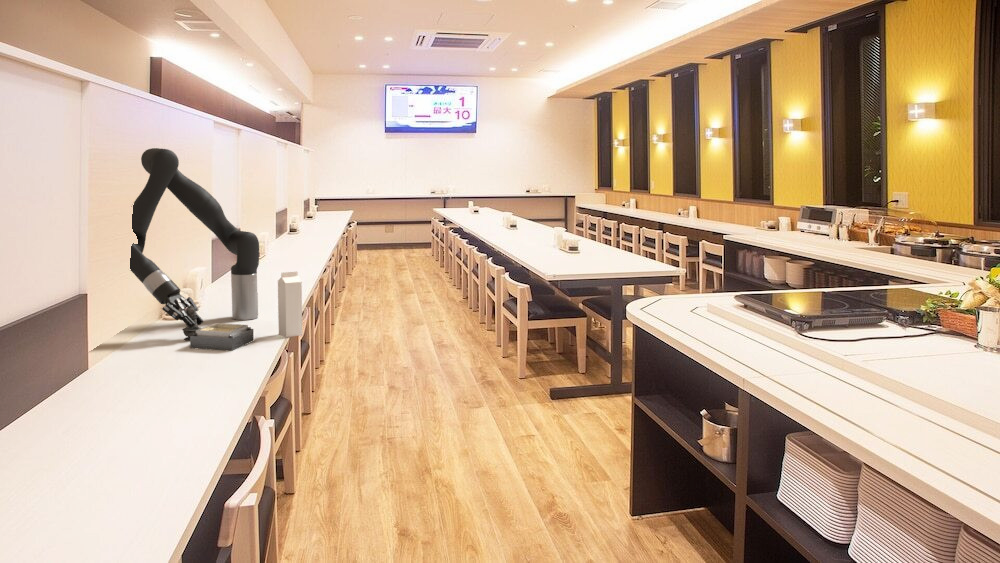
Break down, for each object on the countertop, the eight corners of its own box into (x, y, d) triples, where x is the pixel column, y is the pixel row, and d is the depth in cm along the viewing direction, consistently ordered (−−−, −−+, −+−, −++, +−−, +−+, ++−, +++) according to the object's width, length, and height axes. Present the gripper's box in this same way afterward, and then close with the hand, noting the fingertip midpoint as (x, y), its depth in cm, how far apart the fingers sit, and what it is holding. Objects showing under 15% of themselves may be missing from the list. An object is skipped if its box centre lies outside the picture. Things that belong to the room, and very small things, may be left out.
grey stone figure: (186, 337, 230) (184, 302, 228) (204, 337, 230) (203, 302, 229) (179, 341, 224) (178, 305, 222) (198, 341, 225) (196, 305, 223)
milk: (302, 335, 238) (302, 272, 234) (286, 337, 233) (285, 273, 230) (294, 332, 242) (294, 270, 239) (278, 334, 238) (277, 271, 235)
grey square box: (214, 338, 229) (213, 322, 229) (253, 340, 228) (253, 324, 227) (190, 348, 216) (189, 331, 215) (232, 350, 214) (231, 333, 213)
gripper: (155, 282, 218) (192, 321, 219) (181, 276, 232) (216, 313, 233) (140, 298, 220) (177, 337, 220) (167, 291, 234) (201, 327, 234)
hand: (197, 324), depth 226 cm, fingers open, 4 cm apart
